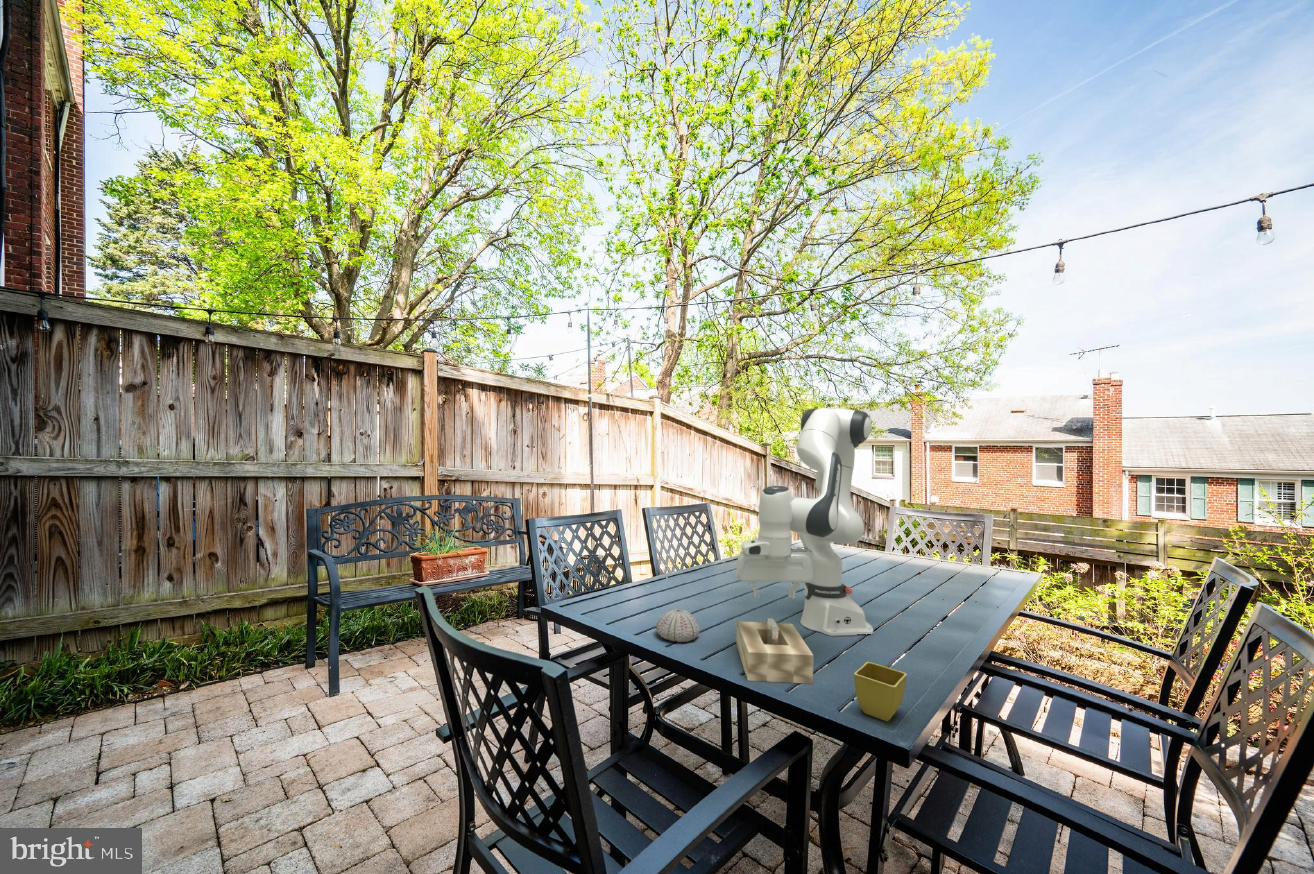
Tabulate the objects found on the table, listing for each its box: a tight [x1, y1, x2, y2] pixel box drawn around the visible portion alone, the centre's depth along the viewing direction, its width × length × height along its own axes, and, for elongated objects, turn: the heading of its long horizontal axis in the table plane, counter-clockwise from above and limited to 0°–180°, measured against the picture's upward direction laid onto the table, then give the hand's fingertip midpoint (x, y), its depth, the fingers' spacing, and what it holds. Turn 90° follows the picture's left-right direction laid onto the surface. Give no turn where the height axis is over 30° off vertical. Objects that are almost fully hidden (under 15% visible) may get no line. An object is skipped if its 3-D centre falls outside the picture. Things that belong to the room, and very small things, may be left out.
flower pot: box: [853, 661, 908, 722], centre depth 111 cm, size 9×9×9 cm
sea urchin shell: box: [655, 608, 701, 643], centre depth 153 cm, size 13×14×8 cm
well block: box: [735, 620, 814, 685], centre depth 136 cm, size 16×22×7 cm
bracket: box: [766, 617, 778, 645], centre depth 136 cm, size 4×7×10 cm, turn 178°
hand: (773, 597), depth 136 cm, fingers open, 8 cm apart
